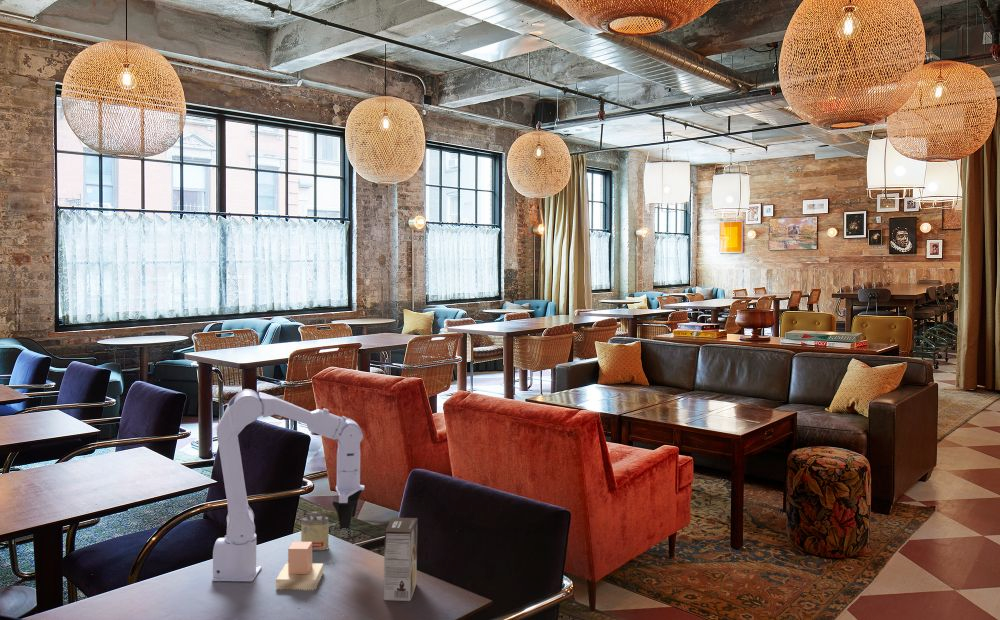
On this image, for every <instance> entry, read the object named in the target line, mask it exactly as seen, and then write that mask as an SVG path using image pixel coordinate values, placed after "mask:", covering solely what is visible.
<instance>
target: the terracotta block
mask: <svg viewBox="0 0 1000 620" xmlns="http://www.w3.org/2000/svg"><path fill="white" fill-rule="evenodd" d="M287 551H288V552H287V553H288V554H287V557H288V558H287V563H288V574H308V573H309V571H310V569H311V568H312V563H313V550H312V542H301V541H292V542H291V544H290V546H289V547H288V548H287Z"/></svg>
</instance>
